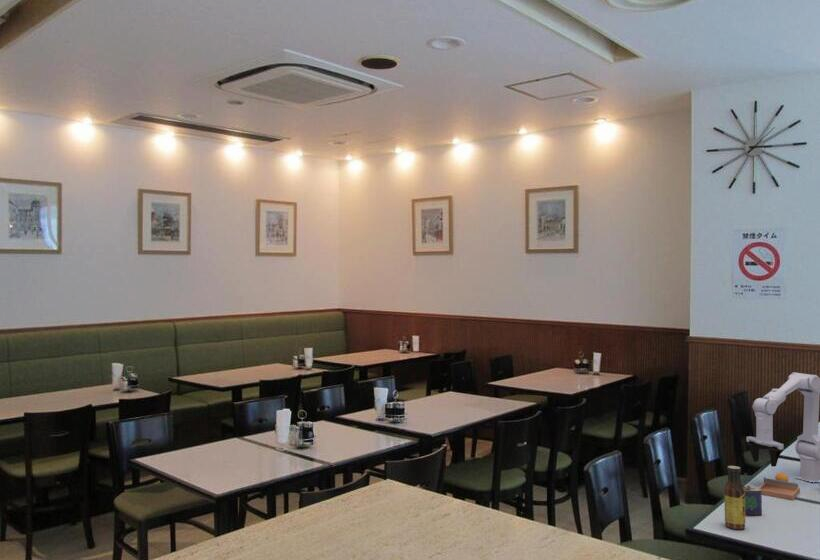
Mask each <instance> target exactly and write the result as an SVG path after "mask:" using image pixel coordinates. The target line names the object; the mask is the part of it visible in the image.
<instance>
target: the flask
mask: <svg viewBox="0 0 820 560" xmlns="http://www.w3.org/2000/svg"><path fill="white" fill-rule="evenodd" d="M743 488H744V491H745V517H761V516H762V514H763V513H762V512H763V508H762V507H763V505H762V503H763V502H762V501H763V499H762V497H763V495H762V490H761V489H757V488H752V486H751V484H748V483H747V484H746V486H745V487H743Z"/></svg>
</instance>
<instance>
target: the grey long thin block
mask: <svg viewBox="0 0 820 560" xmlns="http://www.w3.org/2000/svg"><path fill="white" fill-rule="evenodd" d="M764 482H770V483H775V484H781V485H786V486H792V487H798V488H799V483H797V482H792V481H791V482H790V481H788V482H786V481H781V480H776V479H773V478H769V477H763V483H764Z"/></svg>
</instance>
